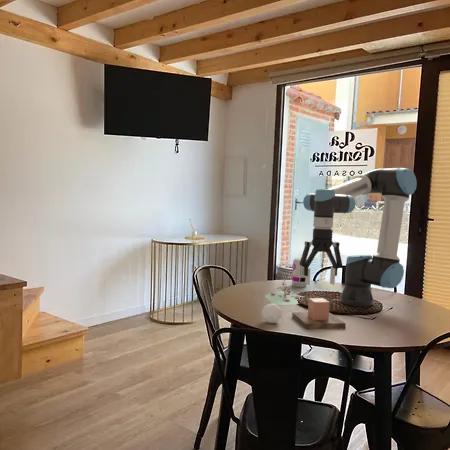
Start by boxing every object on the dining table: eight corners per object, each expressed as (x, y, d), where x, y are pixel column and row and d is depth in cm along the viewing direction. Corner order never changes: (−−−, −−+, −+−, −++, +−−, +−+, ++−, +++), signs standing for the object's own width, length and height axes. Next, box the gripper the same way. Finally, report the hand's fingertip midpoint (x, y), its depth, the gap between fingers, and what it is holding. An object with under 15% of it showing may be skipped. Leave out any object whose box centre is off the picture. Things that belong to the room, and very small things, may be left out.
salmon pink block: (322, 315, 181) (323, 298, 181) (328, 319, 175) (329, 302, 175) (307, 315, 180) (308, 298, 180) (313, 319, 174) (314, 302, 174)
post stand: (328, 316, 187) (329, 297, 187) (345, 328, 172) (346, 307, 171) (292, 317, 184) (293, 298, 184) (306, 329, 169) (307, 308, 168)
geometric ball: (270, 330, 174) (263, 317, 170) (263, 318, 181) (256, 304, 177) (287, 321, 174) (280, 307, 170) (280, 309, 181) (273, 296, 177)
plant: (309, 308, 202) (310, 288, 201) (264, 305, 204) (265, 286, 203) (303, 295, 227) (304, 278, 226) (263, 293, 228) (264, 276, 228)
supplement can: (291, 286, 244) (293, 259, 243) (292, 283, 252) (293, 257, 251) (306, 288, 243) (308, 260, 242) (306, 284, 251) (307, 258, 250)
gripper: (299, 228, 169) (296, 286, 171) (353, 229, 173) (350, 285, 175) (292, 226, 177) (289, 282, 178) (345, 227, 181) (341, 282, 183)
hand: (319, 283), depth 177 cm, fingers open, 10 cm apart
